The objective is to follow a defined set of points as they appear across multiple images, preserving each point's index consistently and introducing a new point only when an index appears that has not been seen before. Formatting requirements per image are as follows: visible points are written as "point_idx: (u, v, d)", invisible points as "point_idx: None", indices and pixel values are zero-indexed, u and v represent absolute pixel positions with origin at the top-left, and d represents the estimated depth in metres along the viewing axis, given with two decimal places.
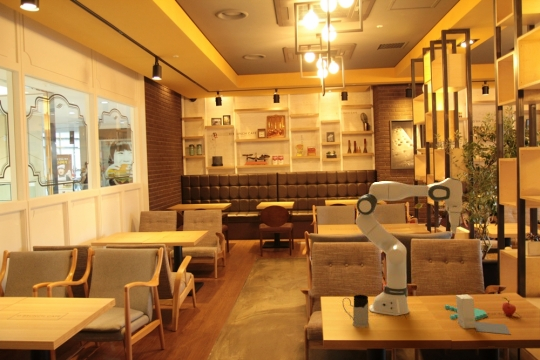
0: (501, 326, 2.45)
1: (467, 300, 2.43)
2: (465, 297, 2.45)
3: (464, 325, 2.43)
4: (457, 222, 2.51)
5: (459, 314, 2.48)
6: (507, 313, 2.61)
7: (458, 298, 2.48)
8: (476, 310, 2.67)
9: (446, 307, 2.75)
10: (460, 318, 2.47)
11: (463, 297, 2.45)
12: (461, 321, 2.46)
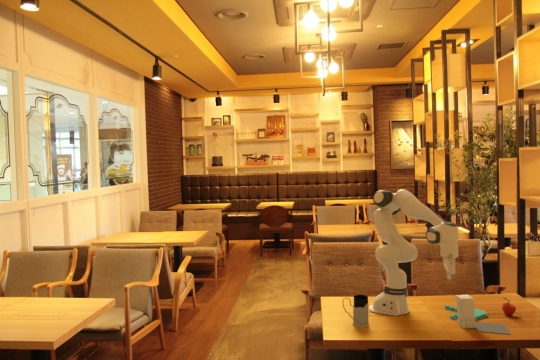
0: (501, 326, 2.45)
1: (467, 300, 2.43)
2: (465, 297, 2.45)
3: (464, 325, 2.43)
4: None
5: (459, 314, 2.48)
6: (507, 313, 2.61)
7: (458, 298, 2.48)
8: (476, 310, 2.67)
9: (446, 307, 2.75)
10: (460, 318, 2.47)
11: (463, 297, 2.45)
12: (461, 321, 2.46)
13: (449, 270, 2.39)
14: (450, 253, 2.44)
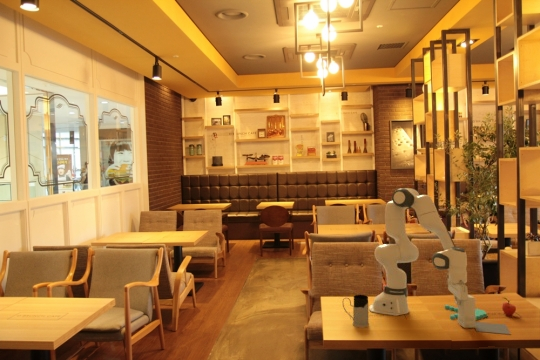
0: (501, 326, 2.45)
1: (468, 299, 2.44)
2: None
3: (464, 324, 2.44)
4: None
5: (460, 313, 2.48)
6: (507, 313, 2.61)
7: None
8: (476, 310, 2.67)
9: (446, 307, 2.75)
10: (460, 317, 2.47)
11: None
12: (461, 320, 2.46)
13: (462, 297, 2.38)
14: (460, 279, 2.43)
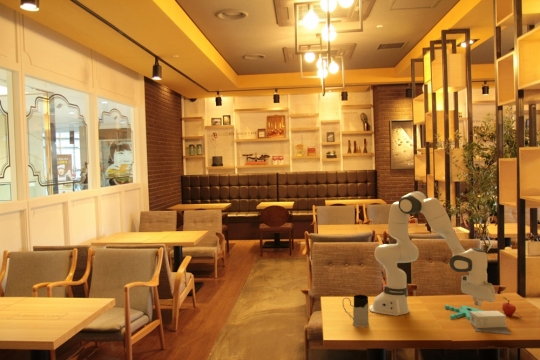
0: None
1: (504, 321, 2.44)
2: None
3: (479, 317, 2.43)
4: None
5: (484, 313, 2.47)
6: (507, 313, 2.61)
7: (499, 312, 2.48)
8: (476, 310, 2.67)
9: (446, 307, 2.75)
10: (481, 313, 2.47)
11: None
12: (479, 314, 2.46)
13: (491, 298, 2.35)
14: (484, 280, 2.40)
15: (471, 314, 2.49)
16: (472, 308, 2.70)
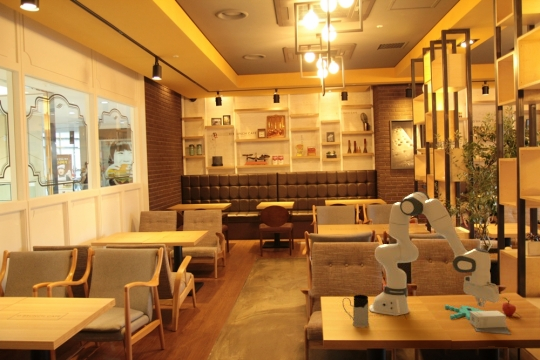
0: None
1: (504, 321, 2.44)
2: None
3: (479, 317, 2.43)
4: None
5: (484, 313, 2.47)
6: (507, 313, 2.61)
7: (499, 312, 2.48)
8: (476, 310, 2.67)
9: (446, 307, 2.75)
10: (481, 313, 2.47)
11: None
12: (479, 314, 2.46)
13: (495, 299, 2.35)
14: (488, 281, 2.40)
15: (471, 314, 2.49)
16: (472, 308, 2.70)
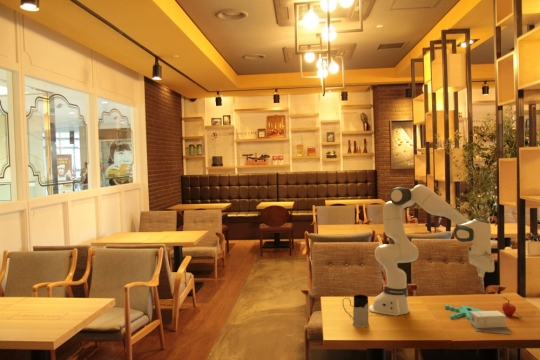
0: None
1: (504, 321, 2.44)
2: None
3: (479, 317, 2.43)
4: None
5: (484, 313, 2.47)
6: (507, 313, 2.61)
7: (499, 312, 2.48)
8: (476, 310, 2.67)
9: (446, 307, 2.75)
10: (481, 313, 2.47)
11: None
12: (479, 314, 2.46)
13: (489, 268, 2.34)
14: (485, 250, 2.39)
15: (471, 314, 2.49)
16: (472, 308, 2.70)
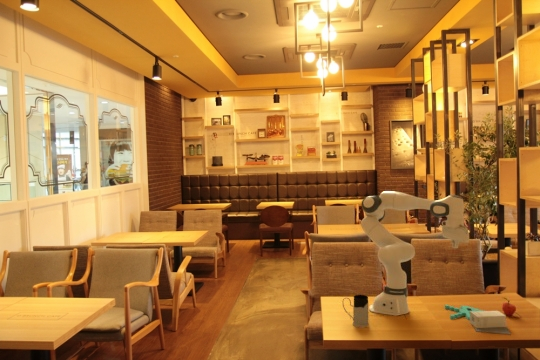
0: None
1: (504, 321, 2.44)
2: None
3: (479, 317, 2.43)
4: None
5: (484, 313, 2.47)
6: (507, 313, 2.61)
7: (499, 312, 2.48)
8: (476, 310, 2.67)
9: (446, 307, 2.75)
10: (481, 313, 2.47)
11: None
12: (479, 314, 2.46)
13: (465, 239, 2.58)
14: (460, 223, 2.63)
15: (471, 314, 2.49)
16: (472, 308, 2.70)
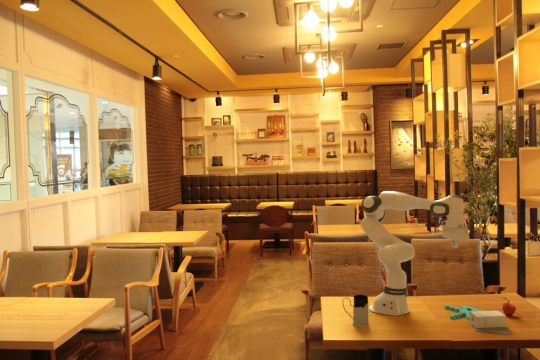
0: None
1: (504, 321, 2.44)
2: None
3: (479, 317, 2.43)
4: None
5: (484, 313, 2.47)
6: (507, 313, 2.61)
7: (499, 312, 2.48)
8: (476, 310, 2.67)
9: (446, 307, 2.75)
10: (481, 313, 2.47)
11: None
12: (479, 314, 2.46)
13: (464, 239, 2.58)
14: (460, 223, 2.63)
15: (471, 314, 2.49)
16: (472, 308, 2.70)
